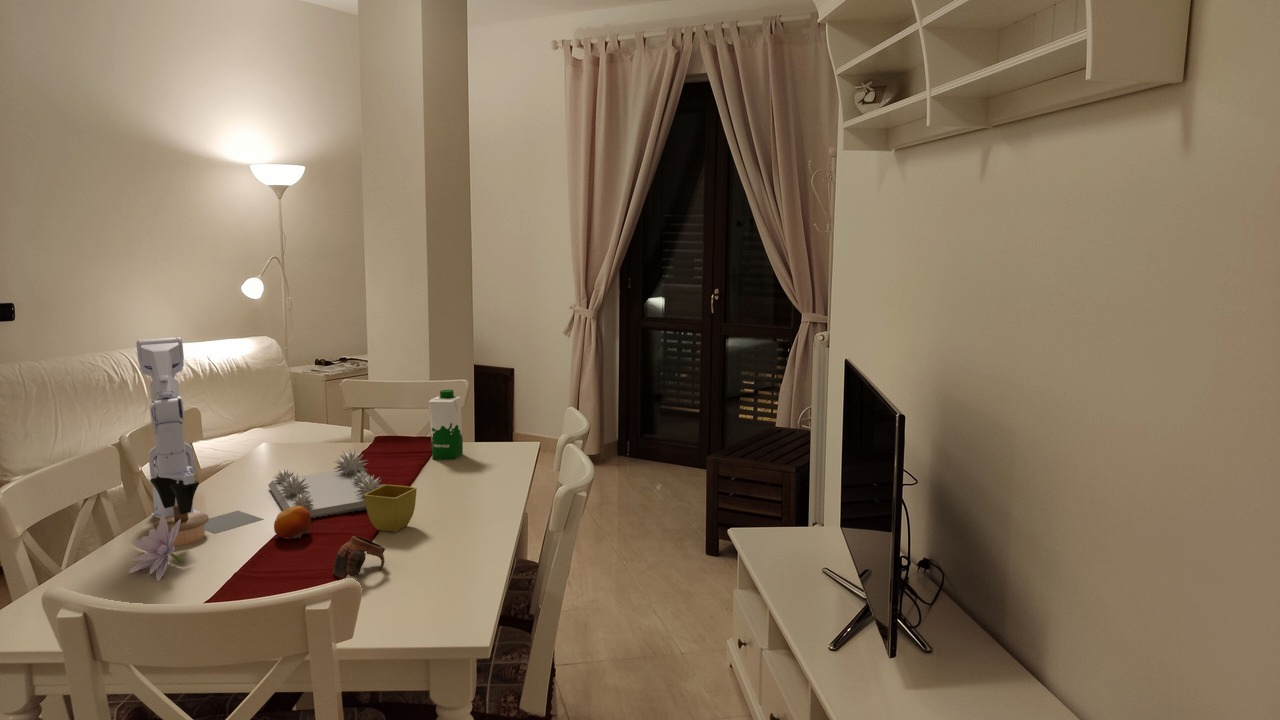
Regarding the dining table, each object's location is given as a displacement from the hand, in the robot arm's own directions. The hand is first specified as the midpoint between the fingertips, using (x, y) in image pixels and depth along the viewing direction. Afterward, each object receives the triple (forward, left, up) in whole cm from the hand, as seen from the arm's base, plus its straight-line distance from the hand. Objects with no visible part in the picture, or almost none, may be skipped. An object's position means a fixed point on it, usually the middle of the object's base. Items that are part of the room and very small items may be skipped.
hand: (177, 509), depth 200 cm
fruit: (+20, +16, -7) cm, 27 cm away
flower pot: (+35, +32, -7) cm, 48 cm away
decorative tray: (+1, +38, -8) cm, 39 cm away
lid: (0, +1, -3) cm, 3 cm away
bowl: (0, 0, -7) cm, 7 cm away
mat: (-2, +12, -7) cm, 14 cm away
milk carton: (-5, +83, -7) cm, 83 cm away
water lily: (+15, -12, -7) cm, 21 cm away
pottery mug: (+52, +11, -7) cm, 53 cm away
